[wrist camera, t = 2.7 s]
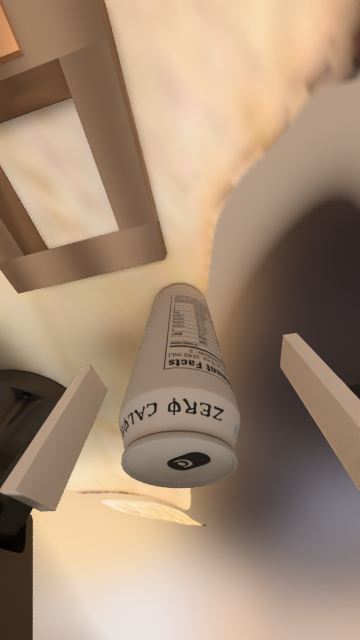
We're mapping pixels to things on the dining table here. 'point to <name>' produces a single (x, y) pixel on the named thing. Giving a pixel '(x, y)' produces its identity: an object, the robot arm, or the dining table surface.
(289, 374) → the robot arm
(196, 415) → the energy drink can
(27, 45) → the frame
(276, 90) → the dining table surface
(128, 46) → the dining table surface
